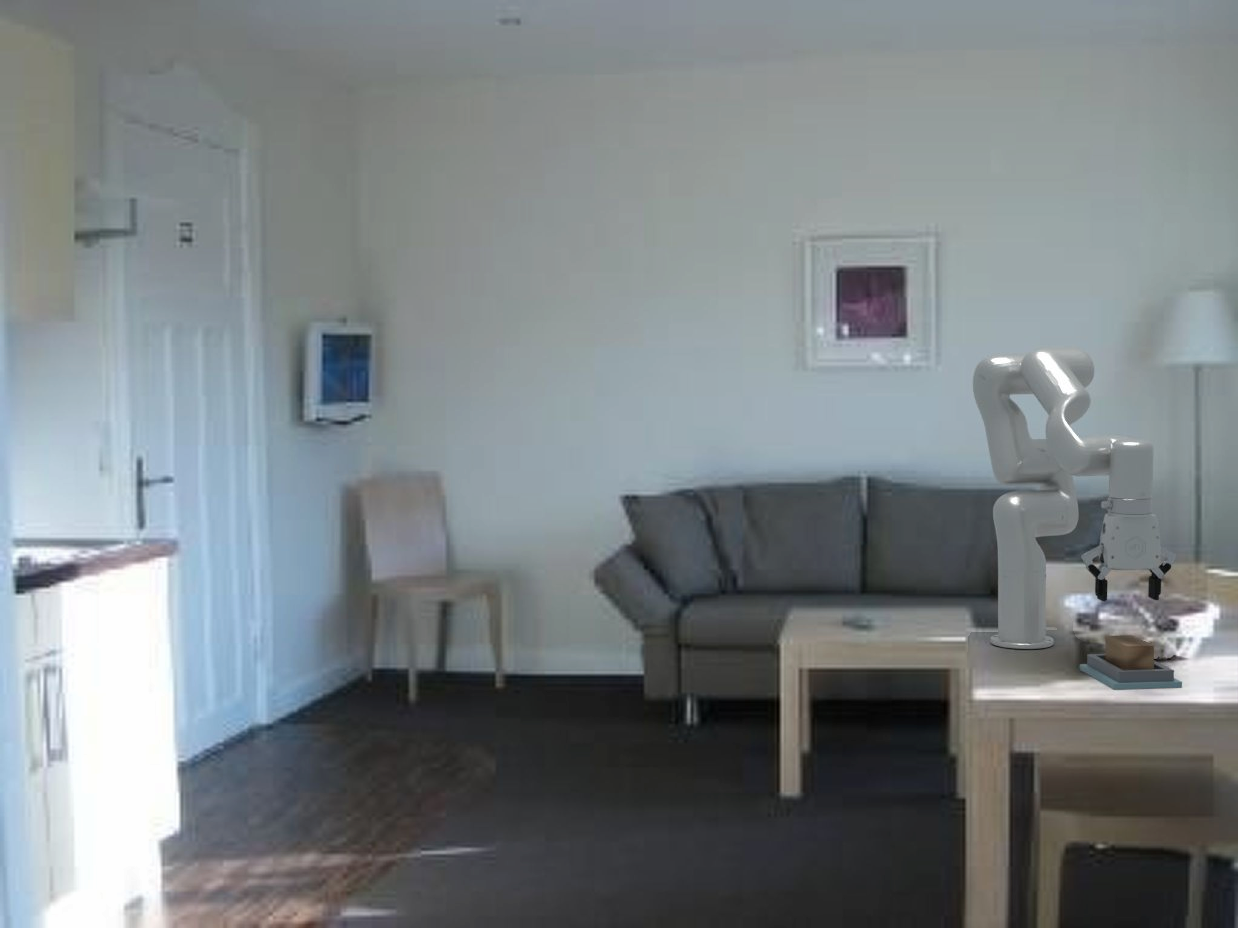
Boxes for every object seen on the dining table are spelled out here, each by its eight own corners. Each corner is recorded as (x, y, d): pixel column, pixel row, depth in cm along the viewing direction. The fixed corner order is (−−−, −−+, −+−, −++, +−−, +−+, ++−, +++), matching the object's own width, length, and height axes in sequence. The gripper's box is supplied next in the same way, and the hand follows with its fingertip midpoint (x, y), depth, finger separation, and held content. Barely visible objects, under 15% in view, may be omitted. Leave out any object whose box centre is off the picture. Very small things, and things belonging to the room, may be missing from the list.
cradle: (1079, 669, 284) (1079, 653, 283) (1143, 667, 284) (1143, 651, 284) (1113, 689, 267) (1114, 672, 266) (1181, 687, 267) (1182, 670, 267)
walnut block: (1126, 678, 270) (1127, 646, 270) (1105, 667, 280) (1105, 635, 280) (1153, 678, 271) (1154, 645, 270) (1131, 666, 281) (1131, 635, 280)
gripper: (1091, 510, 269) (1089, 604, 271) (1185, 509, 270) (1182, 602, 272) (1076, 505, 277) (1074, 596, 278) (1167, 503, 277) (1165, 594, 279)
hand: (1127, 599), depth 275 cm, fingers open, 9 cm apart
